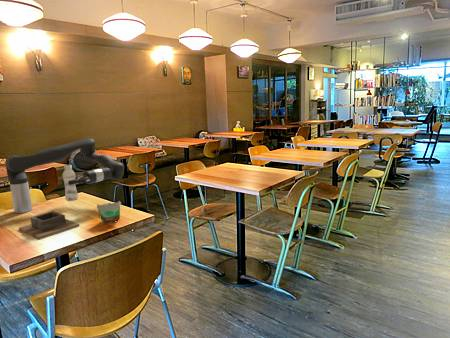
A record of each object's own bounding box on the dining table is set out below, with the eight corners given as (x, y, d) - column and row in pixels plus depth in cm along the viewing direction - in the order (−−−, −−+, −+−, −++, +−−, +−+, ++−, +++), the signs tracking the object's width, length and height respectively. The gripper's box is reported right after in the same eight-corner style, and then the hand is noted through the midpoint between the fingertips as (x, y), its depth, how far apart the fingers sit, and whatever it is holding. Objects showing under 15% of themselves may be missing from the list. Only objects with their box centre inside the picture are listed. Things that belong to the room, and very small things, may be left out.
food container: (100, 225, 175) (98, 207, 173) (98, 222, 181) (96, 204, 179) (124, 221, 181) (122, 203, 179) (122, 217, 186) (120, 200, 184)
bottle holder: (18, 229, 174) (17, 218, 173) (57, 218, 189) (56, 207, 188) (39, 239, 161) (37, 226, 159) (79, 225, 176) (77, 214, 175)
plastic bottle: (74, 202, 186) (69, 166, 182) (63, 202, 187) (58, 166, 183) (81, 199, 192) (77, 164, 188) (70, 198, 193) (66, 164, 189)
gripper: (86, 168, 202) (58, 174, 189) (100, 171, 193) (71, 177, 180) (87, 181, 204) (59, 187, 191) (101, 184, 195) (73, 190, 182)
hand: (65, 182), depth 186 cm, fingers closed on plastic bottle, 6 cm apart
